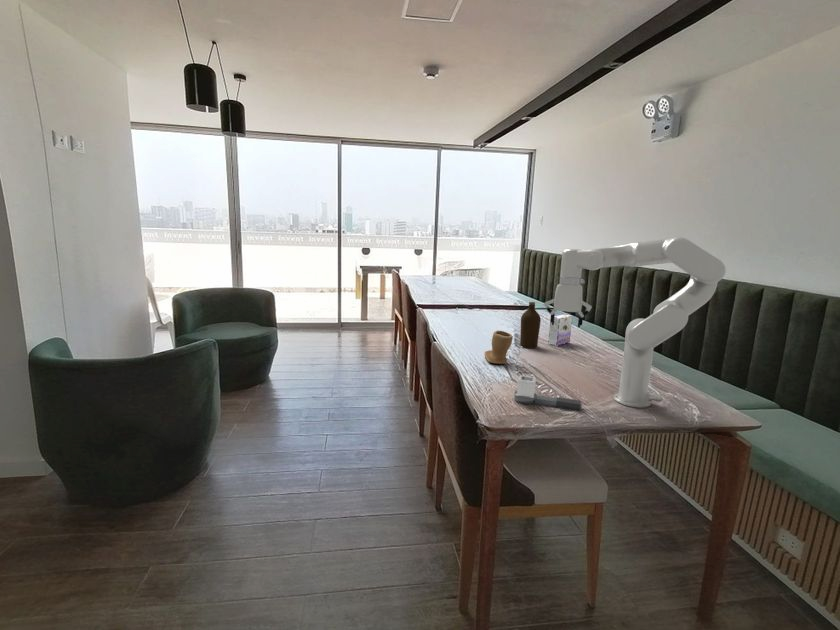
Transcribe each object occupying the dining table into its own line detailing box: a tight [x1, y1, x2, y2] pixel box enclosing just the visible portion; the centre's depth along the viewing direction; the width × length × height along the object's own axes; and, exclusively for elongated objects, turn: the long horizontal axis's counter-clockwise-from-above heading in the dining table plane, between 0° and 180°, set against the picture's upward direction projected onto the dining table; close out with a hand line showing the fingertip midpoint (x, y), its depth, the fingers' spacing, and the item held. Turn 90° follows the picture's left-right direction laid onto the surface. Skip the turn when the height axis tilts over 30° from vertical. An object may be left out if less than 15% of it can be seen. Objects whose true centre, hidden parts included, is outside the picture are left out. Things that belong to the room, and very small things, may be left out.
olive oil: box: [519, 301, 542, 349], centre depth 233 cm, size 11×11×25 cm
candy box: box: [547, 314, 573, 347], centre depth 242 cm, size 14×6×16 cm, turn 130°
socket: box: [516, 374, 537, 398], centre depth 155 cm, size 6×6×6 cm
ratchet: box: [513, 390, 583, 411], centre depth 153 cm, size 24×8×6 cm, turn 71°
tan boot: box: [484, 330, 514, 365], centre depth 204 cm, size 15×12×15 cm
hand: (565, 325), depth 164 cm, fingers open, 9 cm apart
